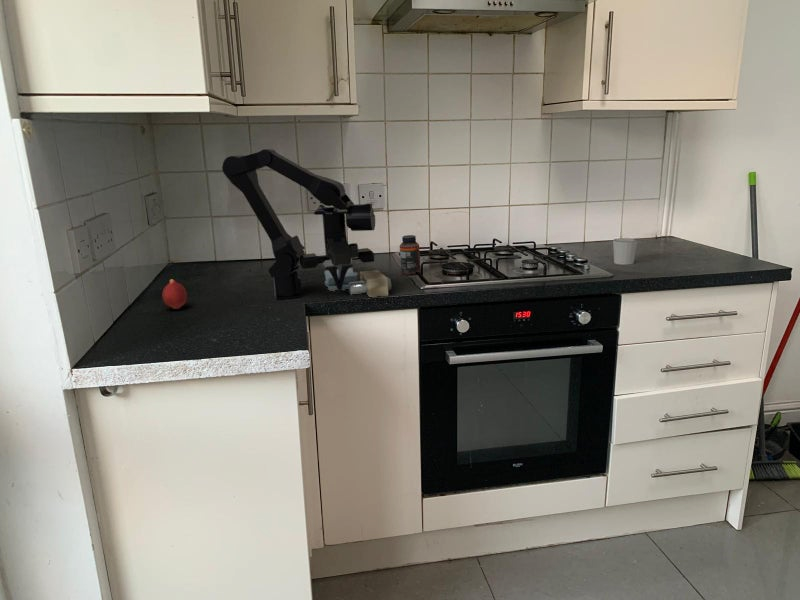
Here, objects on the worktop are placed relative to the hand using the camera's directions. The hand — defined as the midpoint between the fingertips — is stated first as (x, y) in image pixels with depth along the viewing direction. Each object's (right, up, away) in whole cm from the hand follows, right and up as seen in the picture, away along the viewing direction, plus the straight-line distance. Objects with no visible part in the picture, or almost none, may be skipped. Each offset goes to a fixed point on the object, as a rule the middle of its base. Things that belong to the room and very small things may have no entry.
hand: (339, 290), depth 155 cm
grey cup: (+84, +9, +24) cm, 88 cm away
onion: (-41, -5, -5) cm, 42 cm away
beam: (+9, 0, +3) cm, 9 cm away
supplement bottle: (+19, +5, +23) cm, 30 cm away
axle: (+8, +1, +3) cm, 8 cm away
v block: (0, +1, +10) cm, 10 cm away
